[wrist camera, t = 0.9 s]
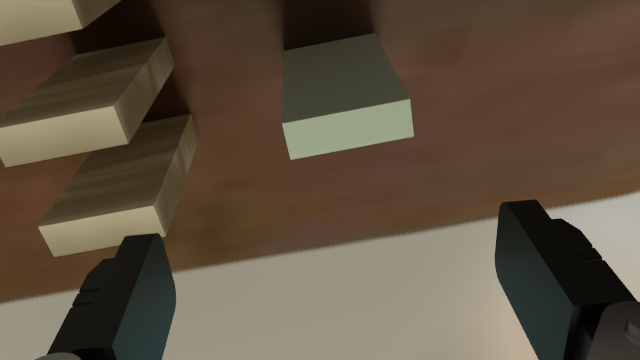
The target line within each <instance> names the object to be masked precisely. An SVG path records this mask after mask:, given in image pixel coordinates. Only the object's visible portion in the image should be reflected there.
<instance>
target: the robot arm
mask: <svg viewBox="0 0 640 360" xmlns="http://www.w3.org/2000/svg"><path fill="white" fill-rule="evenodd" d="M495 267H496V272H497V276H498V279H499V282H500V284H501V286H502V288H503V290H504V292H505V294H506V296H507V298H508V300H509V301H510V304H511V306H512V308H513V309H514V312H515V314H516V316H517V318H518V319H519V321H520V324H521V325H522V327H523V329H524V331H525V333H526V335H527V337H528V339H529V341H530V343H531V345H532V347H533V349H534V351H535V353H536V355H537V357H538V359H539V360H640V302H638V301H637V300H636V299H635V298H634V297H633V295H632V294H631V293H630V292H629V290H628V289H627V288H626V287H625V285H624V284H623V283H622V281H621V280H620V279H619V278H618V276H617V275H616V274H615V273H614V272H613V270H612V269H611V268H610V267H609V265H608V264H607V263H606V262H605V261H604V260H602V257H601V255H600V254H599V253H598V252H597V251H596V249H595V248H592V244H591V243H590V242H589V240H588V239H587V238H586V237H585V235H584V234H583V233H582V232H581V231H580V230H579V229H577V228H576V227H574V226H573V225H571V224H569V223H568V222H566V221H564V220H563V219H551V218H550V217H549V215H548V214H547V213H546V211H545V210H544V209H543V207H542V206H541V205H540V203H539V202H538V201H537V200H524V201H513V202H503V203H502V204H501V206H500V209H499V217H498V228H497V238H496V249H495ZM79 292H80V293H79V294H77V296H76V298H75V300H74V302H73V304H72V305H73V307H72V308H70V310H69V312H68V314H67V316H66V318H65V320H64V322H63V324H62V326H61V328H60V330H59V332H58V333H57V335H56V338H55V340H54V342H53V343H52V345H51V347H50V349H49V351H48V353H47V355H46V356H43V357H40V358H38V359H36V360H162V356H163V353H164V349H165V345H166V341H167V337H168V334H169V330H170V326H171V323H172V319H173V315H174V311H175V306H176V290H175V284H174V280H173V276H172V273H171V269H170V265H169V262H168V258H167V254H166V251H165V247H164V243H163V240H162V237H161V235H160V234H159V233H151V234H140V235H129V236H125V237H124V239H123V241H122V243H121V245H120V247H119V249H118V251H117V254H116V256H115V258H110V259H103V260H102V261H101V262H100V263H99V264H98V265H97V266H96V267H95V268H94V269H93V270H92V271H91V272H90V273H88V275H87V277H86V279H85V280H84V282H83V284H82V286H81V288H80V290H79Z"/></svg>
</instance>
